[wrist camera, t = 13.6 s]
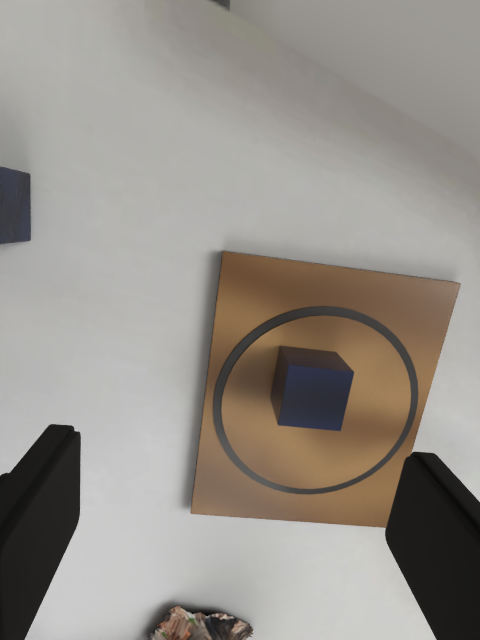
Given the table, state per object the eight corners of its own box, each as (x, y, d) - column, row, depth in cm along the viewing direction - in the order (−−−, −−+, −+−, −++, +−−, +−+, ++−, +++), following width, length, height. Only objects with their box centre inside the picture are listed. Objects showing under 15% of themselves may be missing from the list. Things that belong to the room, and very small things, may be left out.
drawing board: (222, 250, 24) (222, 251, 23) (453, 281, 25) (463, 284, 24) (191, 506, 29) (190, 516, 28) (385, 520, 30) (390, 530, 29)
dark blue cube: (279, 345, 25) (288, 364, 21) (336, 351, 25) (354, 372, 22) (270, 398, 26) (277, 425, 22) (325, 404, 26) (340, 431, 23)
